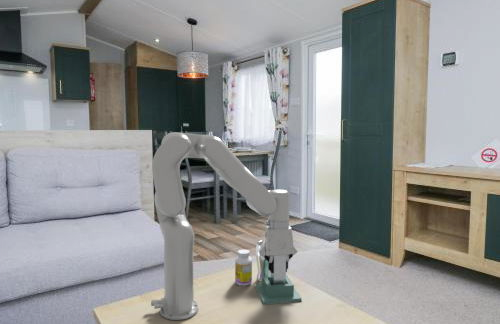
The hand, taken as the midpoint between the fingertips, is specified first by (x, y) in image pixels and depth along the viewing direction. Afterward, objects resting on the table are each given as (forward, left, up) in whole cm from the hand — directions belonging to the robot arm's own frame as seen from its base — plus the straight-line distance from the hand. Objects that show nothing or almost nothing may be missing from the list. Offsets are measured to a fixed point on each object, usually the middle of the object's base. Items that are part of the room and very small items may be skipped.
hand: (278, 270), depth 133 cm
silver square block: (0, 0, -5) cm, 5 cm away
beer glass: (-2, +13, -9) cm, 16 cm away
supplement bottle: (-11, +11, -9) cm, 18 cm away
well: (0, 0, -9) cm, 9 cm away
